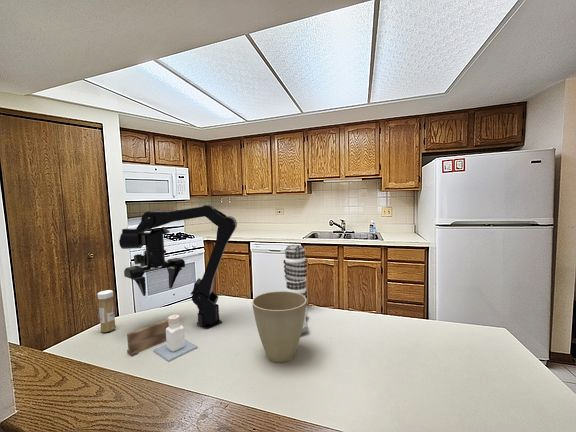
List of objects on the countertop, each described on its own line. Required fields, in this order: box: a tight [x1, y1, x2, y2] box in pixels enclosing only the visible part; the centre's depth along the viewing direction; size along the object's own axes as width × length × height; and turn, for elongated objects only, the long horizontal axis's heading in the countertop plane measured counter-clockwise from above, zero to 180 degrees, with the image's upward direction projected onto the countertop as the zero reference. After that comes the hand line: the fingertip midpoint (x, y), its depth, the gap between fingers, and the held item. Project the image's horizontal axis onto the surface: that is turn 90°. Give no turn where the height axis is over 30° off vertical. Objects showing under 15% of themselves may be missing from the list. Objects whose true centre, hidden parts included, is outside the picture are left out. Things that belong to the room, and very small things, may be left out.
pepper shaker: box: [165, 314, 185, 352], centre depth 83 cm, size 4×4×10 cm
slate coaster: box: [152, 338, 198, 363], centre depth 84 cm, size 9×9×1 cm
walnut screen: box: [126, 318, 169, 357], centre depth 87 cm, size 14×3×6 cm, turn 140°
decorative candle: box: [283, 244, 308, 311], centre depth 111 cm, size 9×9×25 cm
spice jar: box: [97, 289, 117, 333], centre depth 98 cm, size 5×5×13 cm
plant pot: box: [251, 290, 308, 363], centre depth 78 cm, size 15×15×16 cm
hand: (157, 291), depth 98 cm, fingers open, 9 cm apart
